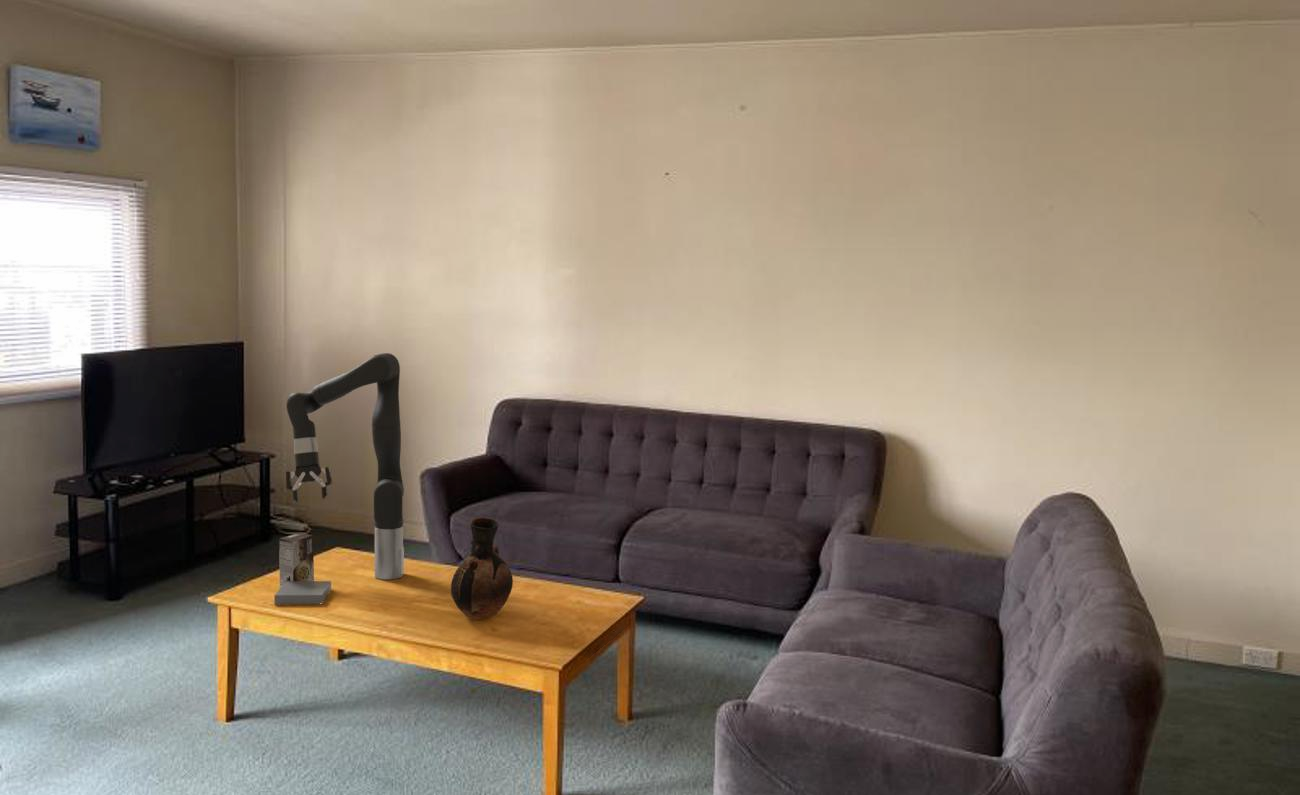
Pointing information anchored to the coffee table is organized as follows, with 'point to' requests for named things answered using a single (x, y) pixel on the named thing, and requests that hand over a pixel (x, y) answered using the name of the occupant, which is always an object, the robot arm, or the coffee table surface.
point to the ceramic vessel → (482, 574)
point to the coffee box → (296, 558)
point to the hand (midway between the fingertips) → (310, 500)
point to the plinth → (302, 592)
